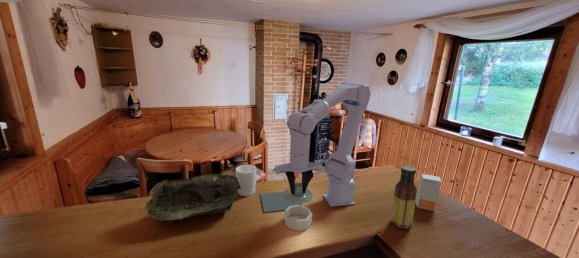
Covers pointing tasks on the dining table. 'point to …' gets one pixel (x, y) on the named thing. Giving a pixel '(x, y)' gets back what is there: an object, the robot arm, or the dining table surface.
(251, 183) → the white cup
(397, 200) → the sauce bottle
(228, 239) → the dining table surface
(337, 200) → the robot arm
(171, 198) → the hollow geode rock
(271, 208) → the mat
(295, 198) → the lid
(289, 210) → the bowl
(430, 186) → the skincare box
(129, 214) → the dining table surface
